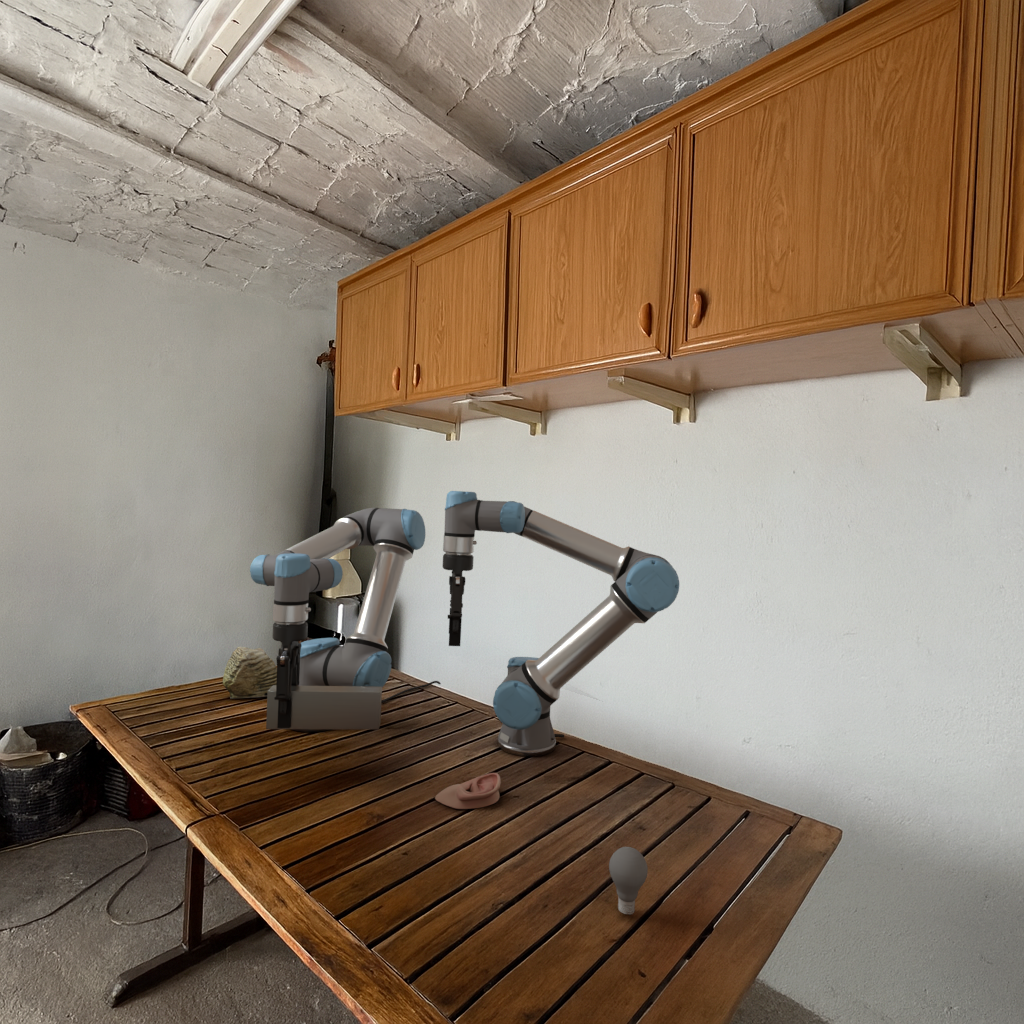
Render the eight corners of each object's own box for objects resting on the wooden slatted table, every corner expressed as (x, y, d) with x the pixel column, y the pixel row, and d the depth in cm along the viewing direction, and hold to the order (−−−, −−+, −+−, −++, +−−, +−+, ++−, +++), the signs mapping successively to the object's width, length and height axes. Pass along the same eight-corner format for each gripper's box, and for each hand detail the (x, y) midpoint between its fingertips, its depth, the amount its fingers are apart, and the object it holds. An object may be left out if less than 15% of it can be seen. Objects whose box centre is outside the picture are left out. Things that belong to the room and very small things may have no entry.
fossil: (218, 695, 195) (220, 647, 195) (278, 685, 208) (279, 640, 207) (228, 703, 189) (230, 653, 188) (289, 692, 201) (290, 645, 201)
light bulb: (603, 900, 103) (606, 839, 103) (639, 899, 103) (642, 839, 103) (612, 924, 97) (615, 860, 97) (650, 924, 97) (653, 860, 97)
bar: (266, 729, 142) (267, 691, 142) (271, 722, 146) (272, 685, 146) (378, 729, 145) (380, 692, 145) (380, 722, 149) (382, 686, 149)
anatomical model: (430, 786, 132) (447, 764, 143) (430, 805, 132) (446, 781, 143) (492, 795, 129) (504, 771, 140) (492, 814, 129) (504, 789, 140)
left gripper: (298, 630, 136) (294, 738, 136) (315, 615, 153) (311, 710, 154) (262, 629, 135) (258, 737, 135) (283, 614, 152) (279, 710, 153)
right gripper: (475, 559, 144) (471, 652, 144) (471, 550, 169) (467, 629, 169) (442, 557, 143) (438, 651, 144) (443, 548, 168) (439, 628, 168)
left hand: (286, 723), depth 145 cm, fingers closed on bar, 4 cm apart
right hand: (454, 639), depth 156 cm, fingers open, 13 cm apart
